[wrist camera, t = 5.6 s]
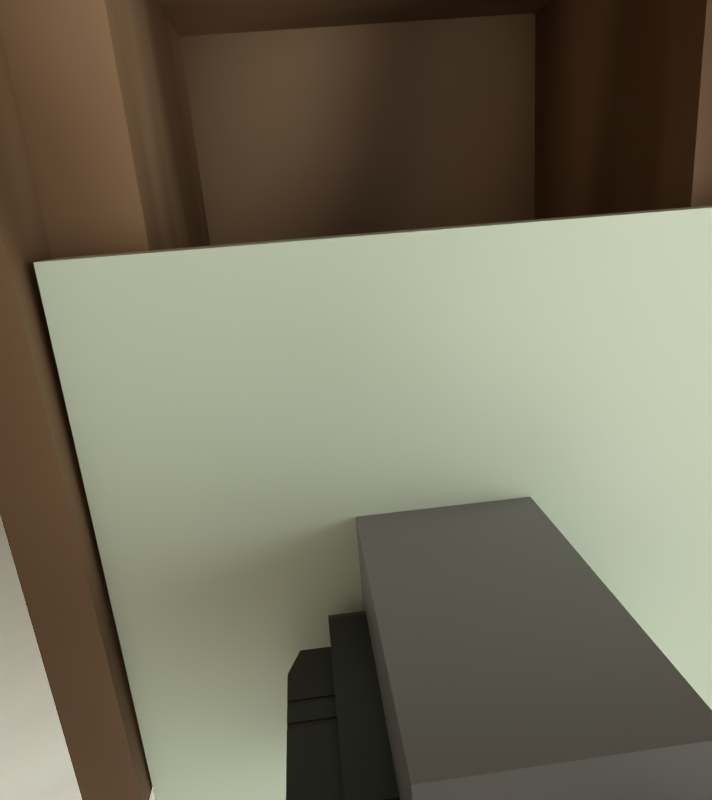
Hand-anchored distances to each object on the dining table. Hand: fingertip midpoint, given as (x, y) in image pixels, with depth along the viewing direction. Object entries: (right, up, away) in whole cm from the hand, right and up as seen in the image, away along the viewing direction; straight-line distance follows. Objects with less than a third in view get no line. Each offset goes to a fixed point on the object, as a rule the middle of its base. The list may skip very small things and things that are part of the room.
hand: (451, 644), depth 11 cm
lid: (0, 0, +1) cm, 1 cm away
